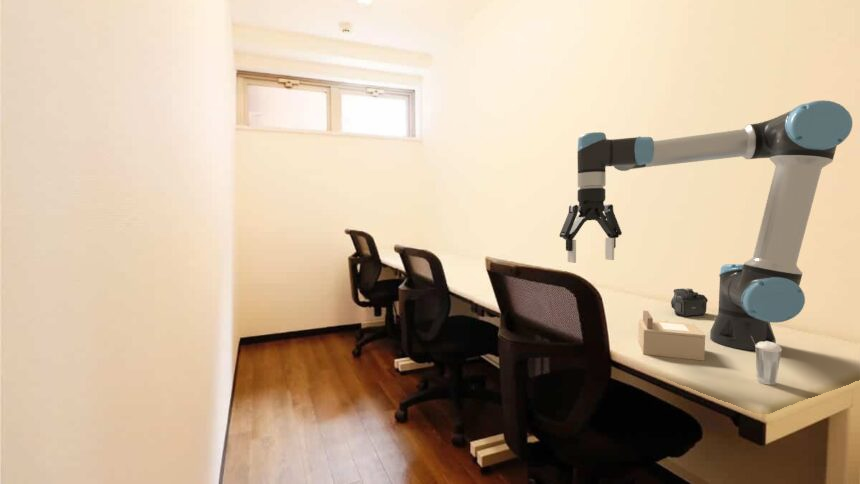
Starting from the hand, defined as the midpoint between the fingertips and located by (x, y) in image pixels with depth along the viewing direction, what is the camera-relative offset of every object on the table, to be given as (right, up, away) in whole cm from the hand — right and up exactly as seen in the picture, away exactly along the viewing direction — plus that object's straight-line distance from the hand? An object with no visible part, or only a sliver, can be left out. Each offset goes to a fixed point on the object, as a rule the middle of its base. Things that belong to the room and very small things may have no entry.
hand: (591, 261), depth 118 cm
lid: (+19, -18, -7) cm, 27 cm away
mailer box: (+19, -25, -7) cm, 32 cm away
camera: (+49, -22, +33) cm, 63 cm away
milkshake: (+28, -26, -27) cm, 47 cm away
